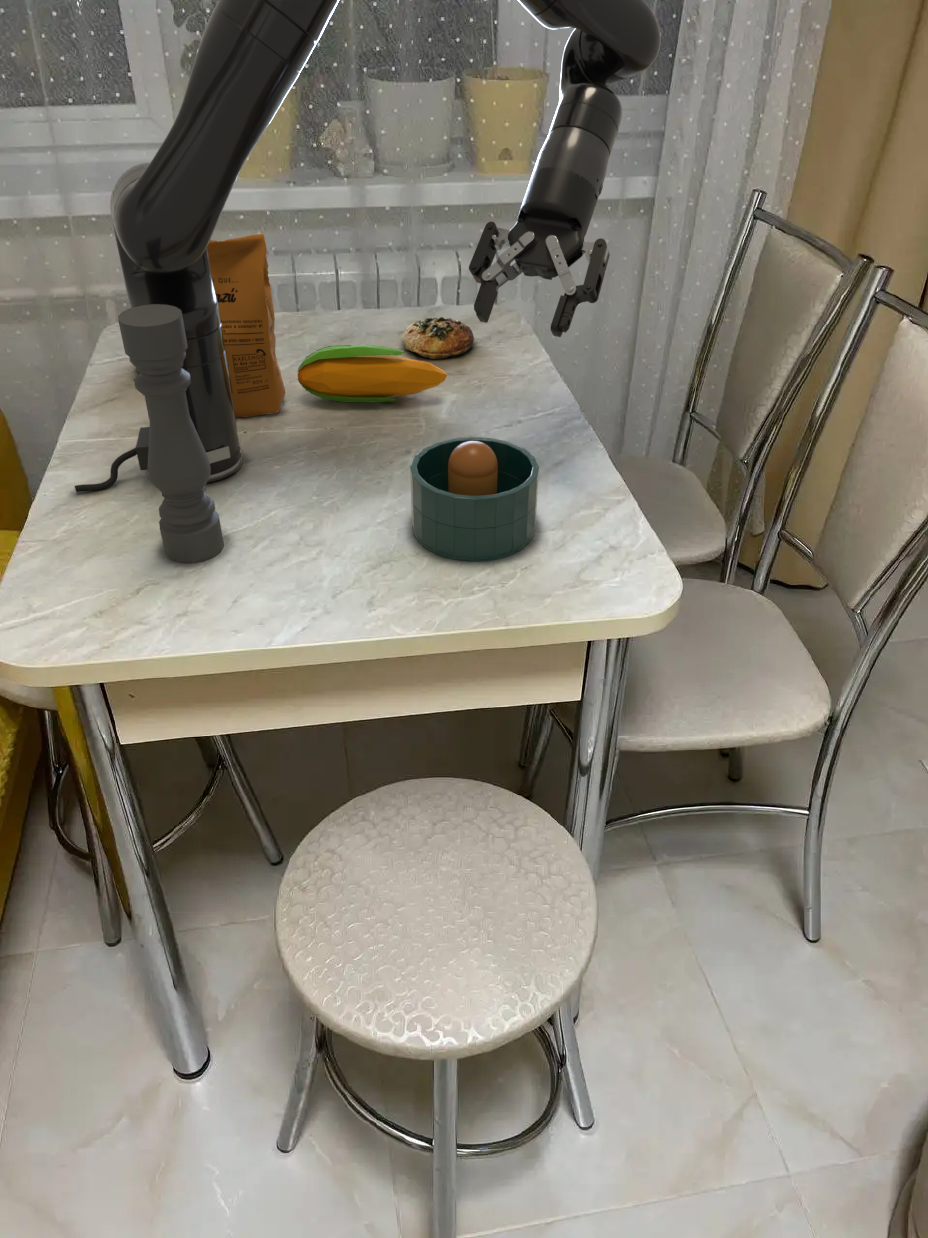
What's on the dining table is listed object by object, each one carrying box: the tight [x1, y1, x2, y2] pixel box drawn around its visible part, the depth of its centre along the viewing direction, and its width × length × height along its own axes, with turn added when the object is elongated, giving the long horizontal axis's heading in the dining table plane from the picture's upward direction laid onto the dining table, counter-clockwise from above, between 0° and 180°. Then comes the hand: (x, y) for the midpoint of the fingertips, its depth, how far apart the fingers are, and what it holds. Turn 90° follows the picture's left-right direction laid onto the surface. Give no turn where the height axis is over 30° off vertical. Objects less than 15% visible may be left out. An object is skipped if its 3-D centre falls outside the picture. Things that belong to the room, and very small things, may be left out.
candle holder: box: [117, 304, 225, 564], centre depth 96 cm, size 6×6×25 cm
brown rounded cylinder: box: [448, 441, 498, 496], centre depth 104 cm, size 5×5×10 cm
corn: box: [296, 344, 448, 403], centre depth 131 cm, size 7×8×20 cm
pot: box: [409, 436, 540, 562], centre depth 105 cm, size 13×13×8 cm
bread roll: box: [401, 316, 475, 360], centre depth 147 cm, size 11×11×5 cm
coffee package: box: [207, 233, 286, 418], centre depth 125 cm, size 10×12×22 cm
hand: (517, 326), depth 103 cm, fingers open, 8 cm apart
